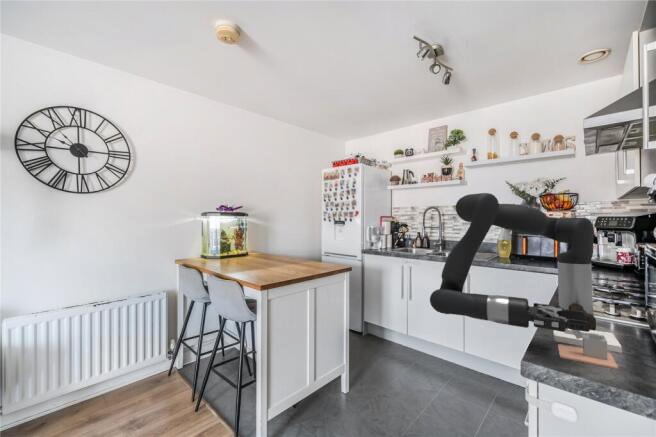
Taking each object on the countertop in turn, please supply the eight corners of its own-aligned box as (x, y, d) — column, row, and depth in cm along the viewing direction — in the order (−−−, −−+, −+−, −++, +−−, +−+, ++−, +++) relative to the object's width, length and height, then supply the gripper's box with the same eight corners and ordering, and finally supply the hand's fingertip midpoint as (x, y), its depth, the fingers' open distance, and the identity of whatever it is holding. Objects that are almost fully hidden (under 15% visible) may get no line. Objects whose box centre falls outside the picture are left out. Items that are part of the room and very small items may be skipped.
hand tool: (568, 314, 100) (568, 301, 100) (583, 316, 98) (583, 302, 98) (581, 333, 84) (580, 317, 84) (599, 336, 81) (599, 319, 81)
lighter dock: (552, 329, 86) (552, 324, 86) (612, 338, 79) (612, 333, 79) (554, 341, 78) (554, 335, 78) (621, 352, 71) (621, 346, 71)
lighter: (606, 357, 68) (605, 323, 68) (607, 360, 66) (606, 325, 67) (567, 349, 72) (566, 317, 72) (567, 352, 71) (566, 320, 71)
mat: (557, 345, 76) (557, 343, 76) (610, 355, 70) (610, 353, 70) (560, 357, 69) (560, 356, 69) (618, 369, 63) (618, 367, 63)
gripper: (505, 303, 73) (591, 313, 63) (508, 291, 84) (582, 298, 75) (505, 332, 73) (592, 348, 63) (509, 316, 84) (582, 327, 75)
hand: (586, 321), depth 69 cm, fingers open, 8 cm apart
